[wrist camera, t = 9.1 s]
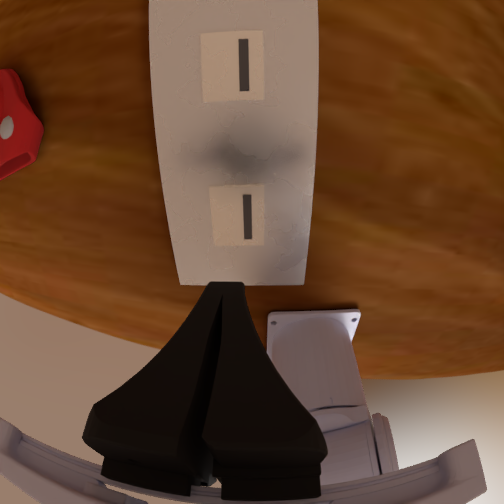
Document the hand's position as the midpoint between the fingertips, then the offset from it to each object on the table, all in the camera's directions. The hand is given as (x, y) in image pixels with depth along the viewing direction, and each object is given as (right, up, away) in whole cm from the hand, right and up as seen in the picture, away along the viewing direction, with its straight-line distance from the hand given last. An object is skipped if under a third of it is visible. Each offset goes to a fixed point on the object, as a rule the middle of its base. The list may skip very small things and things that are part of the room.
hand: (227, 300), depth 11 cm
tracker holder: (-20, +12, +3) cm, 23 cm away
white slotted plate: (0, +8, +4) cm, 10 cm away
